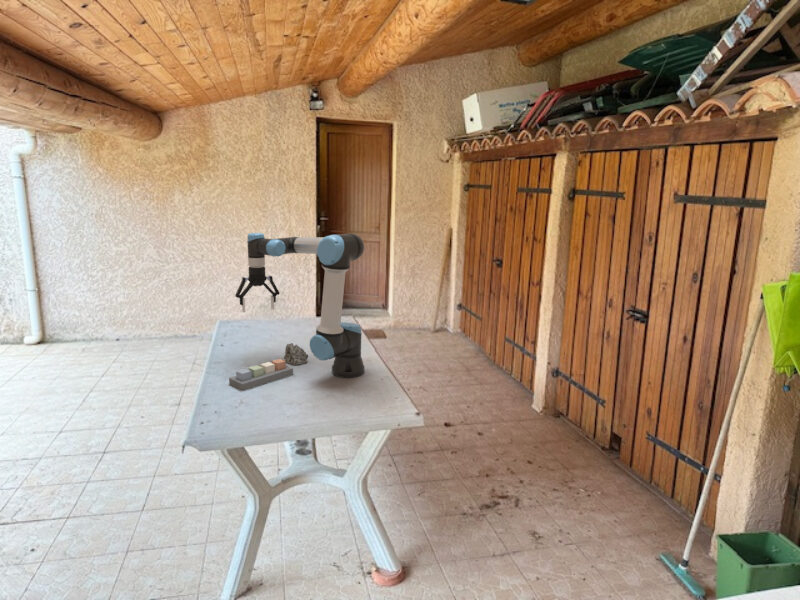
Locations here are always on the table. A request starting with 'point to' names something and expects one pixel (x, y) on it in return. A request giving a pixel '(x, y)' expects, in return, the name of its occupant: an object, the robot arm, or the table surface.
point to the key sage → (256, 371)
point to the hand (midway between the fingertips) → (258, 310)
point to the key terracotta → (279, 364)
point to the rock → (295, 355)
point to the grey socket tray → (260, 379)
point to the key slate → (243, 375)
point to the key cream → (268, 367)
